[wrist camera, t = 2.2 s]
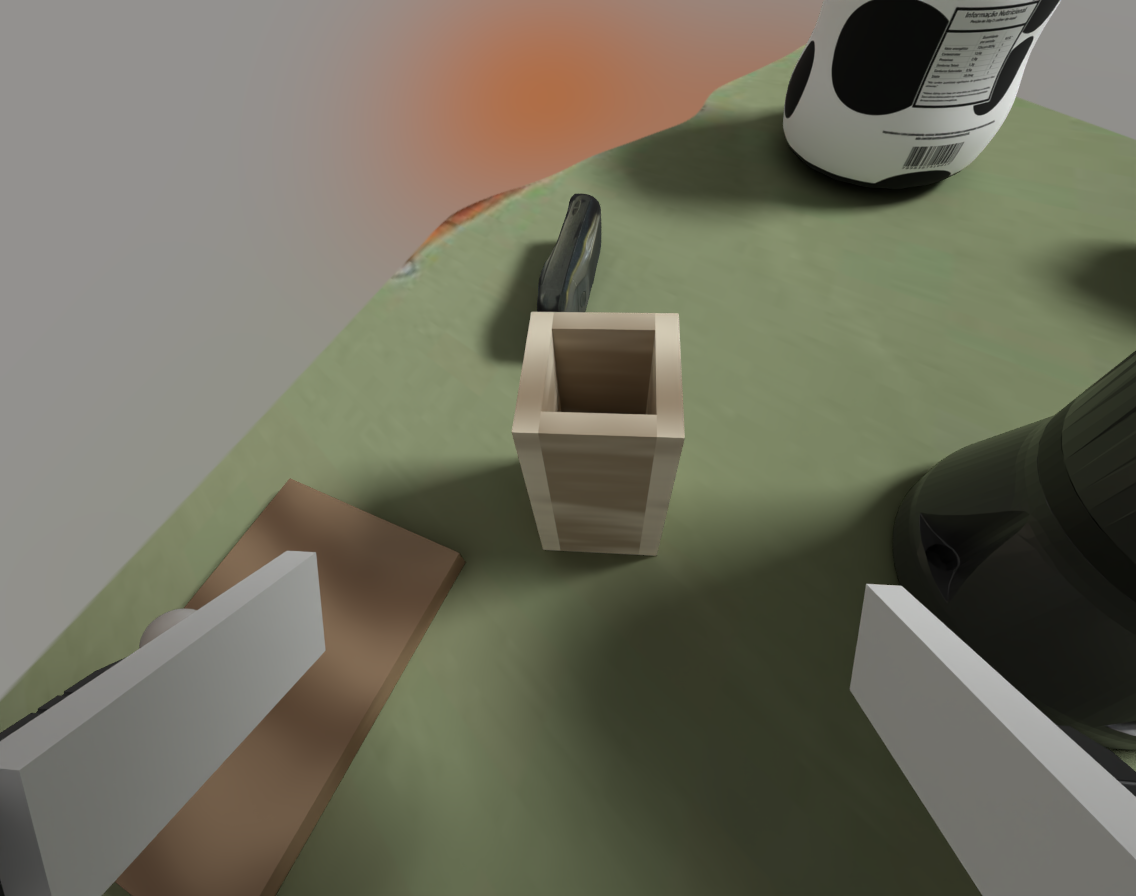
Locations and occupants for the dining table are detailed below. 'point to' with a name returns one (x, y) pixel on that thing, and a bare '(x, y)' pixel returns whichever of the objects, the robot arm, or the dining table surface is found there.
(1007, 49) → the doce de leite jar
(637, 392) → the wooden pencil cup
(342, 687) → the flat brown rectangular board
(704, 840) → the dining table surface
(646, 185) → the dining table surface
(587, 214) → the mobile phone
